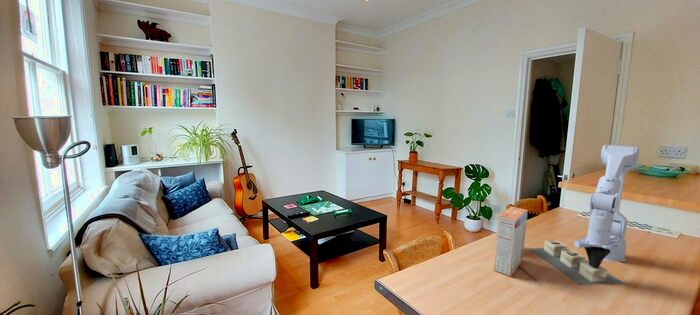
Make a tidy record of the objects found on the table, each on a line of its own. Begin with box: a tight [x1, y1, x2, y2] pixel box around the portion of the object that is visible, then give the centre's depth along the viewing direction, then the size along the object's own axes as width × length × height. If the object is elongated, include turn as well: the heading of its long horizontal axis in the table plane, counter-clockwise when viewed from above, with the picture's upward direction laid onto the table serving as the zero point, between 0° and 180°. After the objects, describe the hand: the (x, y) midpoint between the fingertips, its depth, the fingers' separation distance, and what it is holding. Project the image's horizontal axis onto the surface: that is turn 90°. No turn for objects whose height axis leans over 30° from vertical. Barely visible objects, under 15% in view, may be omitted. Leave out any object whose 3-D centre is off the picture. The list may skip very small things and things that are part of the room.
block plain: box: [579, 262, 608, 282], centre depth 99 cm, size 5×5×4 cm
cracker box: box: [493, 206, 528, 277], centre depth 105 cm, size 14×6×21 cm, turn 134°
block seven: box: [560, 250, 586, 268], centre depth 107 cm, size 5×5×4 cm
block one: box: [543, 239, 567, 256], centre depth 115 cm, size 5×5×4 cm
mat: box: [528, 247, 626, 286], centre depth 107 cm, size 16×25×1 cm, turn 4°
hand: (593, 266), depth 98 cm, fingers closed, pressing on block plain
